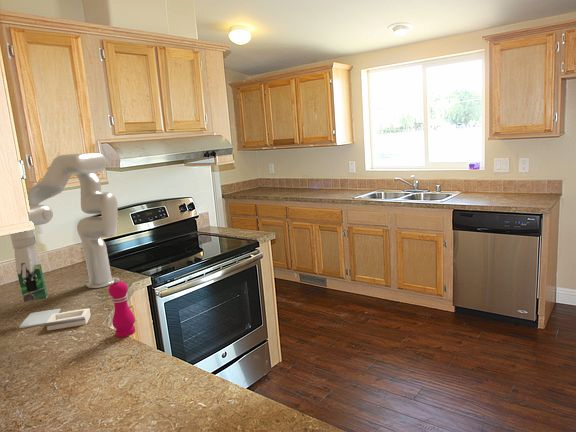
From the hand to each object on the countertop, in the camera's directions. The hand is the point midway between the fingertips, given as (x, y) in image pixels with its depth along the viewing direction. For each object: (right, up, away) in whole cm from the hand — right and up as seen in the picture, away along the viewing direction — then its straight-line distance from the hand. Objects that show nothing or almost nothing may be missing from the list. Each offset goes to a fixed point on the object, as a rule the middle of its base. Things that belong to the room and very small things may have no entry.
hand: (33, 288), depth 164 cm
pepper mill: (+41, -13, -16) cm, 46 cm away
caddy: (+15, -12, -3) cm, 20 cm away
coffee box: (0, -4, +1) cm, 4 cm away
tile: (+1, -12, +3) cm, 12 cm away
